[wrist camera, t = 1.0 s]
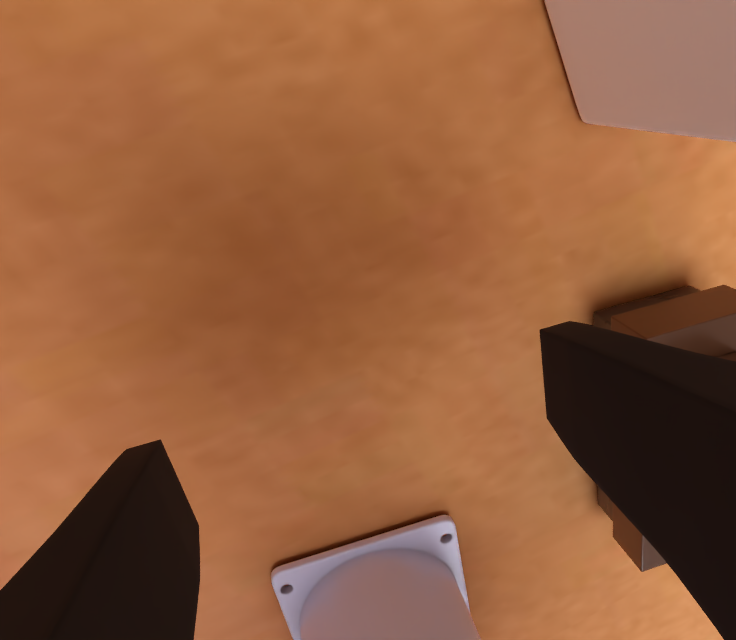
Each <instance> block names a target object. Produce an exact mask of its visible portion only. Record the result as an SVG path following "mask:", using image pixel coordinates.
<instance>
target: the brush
mask: <svg viewBox="0 0 736 640" xmlns="http://www.w3.org/2000/svg"><path fill="white" fill-rule="evenodd" d="M593 322H594V326H596V327H600V328H604V329H608V330H612V331H616V332H619V333H623V334H627V335H631V336H634V337H638V338H642V339H645V340H649V341H653V342H657V343H660V344H664V345H668V346H672V347H676V348H680V349H684V350H688V351H692V352H696V353H700V354H704V355H709V356H713V357H718V358H722V359H727V360H732V361H736V289H733V288H731V287H729V286H726V285H721V286H717V287H714V288H710V289H707V290H703V291H700V290H698V289H696V288H694V287H691V286H685V287H682V288H678V289H675V290H671V291H668V292H664V293H660V294H657V295H653V296H650V297H646V298H643V299H639V300H635V301H632V302H628V303H625V304H621V305H618V306H614V307H611V308H607V309H603V310H600V311H596V312H594V313H593ZM597 489H598V505H599V506H600V507H601V508H602V509H603V511H604V512H605V513H606V514H607V515H608V516H609V518H610V519H611V520H612V521H613V537H614V539H615V540H616V541H617V542H618V544H619V545H620V546H621V547H622V548H623V550H624V551H625V552H626V553H627V555H628V556H629V557H630V558H631V559H632V561H633V562H634V563H635V564H636V566H637V567H638V568H639V569H640V570H641V571H642V572H643V571H646V570H649V569H652V568H655V567H657V566H660V565H663V564H666V561H665V560H664V559H663V558H662V557H661V555H660V554H659V553H658V552H657V551H656V549H655V548H654V547H653V546H652V545H651V544H650V543H649V542H648V541H647V539H646V538H645V537H644V536H643V535H642V534H641V533H640V532H639V531H638V530H637V528H636V527H635V526H634V525H633V524H632V523H631V522H630V521H629V520H628V518H627V517H626V516H625V515H624V514H623V513H622V512H621V511H620V510H619V509H618V507H617V506H616V505H615V504H614V503H613V502H612V501H611V500H610V499H609V497H608V496H607V495H606V494H605V493H604V492H603V491H602V490H601V489H600V487H599V486H598V485H597Z"/></svg>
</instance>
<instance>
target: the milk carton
mask: <svg viewBox="0 0 736 640" xmlns="http://www.w3.org/2000/svg"><path fill="white" fill-rule="evenodd" d="M544 2H545V5H546V8H547V12H548V15H549V18H550V21H551V25H552V28H553V31H554V34H555V37H556V41H557V44H558V47H559V50H560V54H561V57H562V60H563V63H564V67H565V70H566V73H567V76H568V80H569V83H570V86H571V89H572V93H573V96H574V99H575V102H576V105H577V108H578V111H579V114H580V117H581V119H582V121H583V122H585V123H588V124H594V125H602V126H610V127H618V128H627V129H635V130H643V131H651V132H659V133H667V134H675V135H683V136H691V137H700V138H708V139H716V140H724V141H732V142H736V0H544Z"/></svg>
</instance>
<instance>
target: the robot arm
mask: <svg viewBox="0 0 736 640" xmlns="http://www.w3.org/2000/svg"><path fill="white" fill-rule="evenodd" d="M540 340H541V353H542V365H543V377H544V389H545V402H546V414H547V419H548V421H549V422H550V424H551V425H552V427H553V428H554V430H555V431H556V433H557V434H558V436H559V437H560V439H561V440H562V442H563V443H564V445H565V446H566V448H567V449H568V450H569V452H570V453H571V455H572V456H573V458H574V459H575V460H576V461H577V463H578V464H579V465H580V466H581V467H582V468H583V469H584V471H585V472H586V473H587V474H588V475H589V476H590V477H591V478H592V480H593V481H594V482H595V483H596V484H597V485H598V486H599V487H600V489H601V490H602V491H603V492H604V493H605V494H606V495H607V496H608V497H609V499H610V500H611V501H612V502H613V503H614V504H615V505H616V506H617V507H618V509H619V510H620V511H621V512H622V513H623V514H624V515H625V516H626V517H627V518H628V520H629V521H630V522H631V523H632V524H633V525H634V526H635V527H636V528H637V530H638V531H639V532H640V533H641V534H642V535H643V536H644V537H645V538H646V539H647V541H648V542H649V543H650V544H651V545H652V546H653V547H654V548H655V549H656V551H657V552H658V553H659V554H660V555H661V557H662V558H663V559H664V560H665V561H666V563H667V564H668V565H669V566H670V567H671V569H672V570H673V571H674V572H675V573H676V575H677V576H678V577H679V579H680V580H681V581H682V583H683V584H684V585H685V587H686V588H687V590H688V591H689V592H690V594H691V595H692V596H693V598H694V599H695V600H696V602H697V603H698V604H699V606H700V607H701V608H702V610H703V611H704V612H705V614H706V615H707V616H708V618H709V619H710V621H711V622H712V623H713V625H714V626H715V627H716V629H717V630H718V632H719V633H720V635H721V636H722V637H723V639H724V640H736V361H732V360H727V359H722V358H718V357H713V356H709V355H704V354H700V353H696V352H692V351H688V350H684V349H680V348H676V347H672V346H668V345H664V344H660V343H657V342H653V341H649V340H645V339H642V338H638V337H634V336H631V335H627V334H623V333H619V332H616V331H612V330H608V329H604V328H600V327H596V326H592V325H588V324H583V323H578V322H572V321H568V322H565V323H561V324H558V325H554V326H551V327H547V328H544V329H541V330H540ZM444 534H447V535H445V536H442V535H444ZM271 582H272V586H273V588H274V591H275V594H276V596H277V599H278V602H279V604H280V607H281V609H282V612H283V615H284V617H285V620H286V622H287V625H288V628H289V630H290V633H291V635H292V638H293V640H481V638H480V635H479V633H478V631H477V629H476V626H475V624H474V622H473V619H472V617H471V614H470V608H469V602H468V597H467V591H466V585H465V579H464V573H463V567H462V562H461V556H460V550H459V544H458V538H457V532H456V527H455V524H454V522H453V520H452V518H451V517H450V516H449V515H440V516H437V517H434V518H431V519H427V520H424V521H421V522H418V523H415V524H411V525H408V526H405V527H402V528H399V529H395V530H392V531H389V532H386V533H383V534H380V535H376V536H373V537H370V538H367V539H364V540H360V541H357V542H354V543H351V544H348V545H344V546H341V547H338V548H335V549H332V550H329V551H325V552H322V553H319V554H316V555H313V556H309V557H306V558H303V559H300V560H297V561H293V562H290V563H287V564H284V565H281V566H278V567H276V568H275V569H274V570H273V571H272V573H271ZM199 584H200V545H199V524H198V522H197V520H196V518H195V515H194V513H193V511H192V509H191V506H190V504H189V502H188V500H187V497H186V495H185V493H184V491H183V489H182V486H181V484H180V482H179V480H178V477H177V475H176V473H175V471H174V468H173V466H172V464H171V462H170V459H169V457H168V455H167V453H166V450H165V448H164V446H163V444H162V441H161V439H160V440H157V441H154V442H150V443H147V444H143V445H140V446H136V447H133V448H129V449H126V450H125V451H124V452H123V453H122V454H121V455H120V456H119V457H118V458H117V459H116V460H115V461H114V463H113V464H112V465H111V466H110V467H109V468H108V469H107V471H106V472H105V473H104V474H103V475H102V476H101V478H100V479H99V480H98V481H97V482H96V484H95V485H94V486H93V487H92V488H91V489H90V491H89V492H88V493H87V494H86V495H85V497H84V498H83V499H82V500H81V501H80V502H79V504H78V505H77V506H76V507H75V508H74V509H73V511H72V512H71V513H70V514H69V515H68V516H67V518H66V519H65V520H64V521H63V522H62V524H61V525H60V526H59V527H58V528H57V529H56V531H55V532H54V533H53V534H52V535H51V536H50V537H49V538H48V540H47V541H46V542H45V543H44V544H43V545H42V546H41V547H40V548H39V549H38V550H37V551H36V553H35V554H34V555H33V556H32V557H31V558H30V559H29V560H28V561H27V562H26V563H25V564H24V566H23V567H22V568H21V569H20V570H19V571H18V572H17V573H16V574H15V575H14V576H13V577H12V579H11V580H10V581H9V582H8V583H7V584H6V585H5V586H4V587H3V588H2V589H1V590H0V640H194V631H195V622H196V613H197V604H198V594H199ZM287 584H289V585H288V586H284V585H287Z"/></svg>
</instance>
